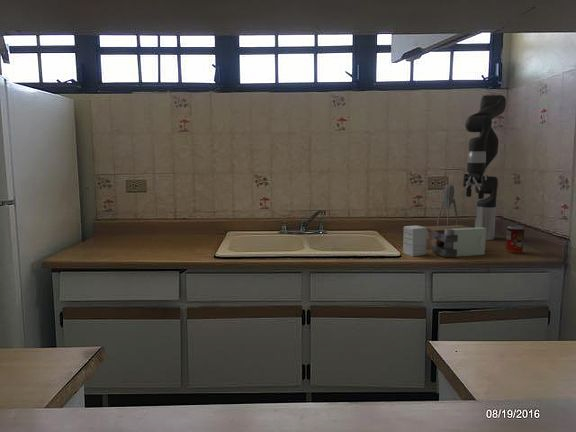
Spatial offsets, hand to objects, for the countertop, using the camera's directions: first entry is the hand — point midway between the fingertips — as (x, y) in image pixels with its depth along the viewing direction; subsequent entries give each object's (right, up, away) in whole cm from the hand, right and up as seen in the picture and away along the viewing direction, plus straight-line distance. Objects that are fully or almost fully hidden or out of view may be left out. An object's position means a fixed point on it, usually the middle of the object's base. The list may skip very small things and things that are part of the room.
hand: (474, 197), depth 201 cm
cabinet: (-8, -25, +6) cm, 27 cm away
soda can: (+20, -25, +4) cm, 32 cm away
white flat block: (-4, -26, -1) cm, 26 cm away
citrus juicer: (-5, -22, +26) cm, 35 cm away
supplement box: (-27, -26, +1) cm, 37 cm away
